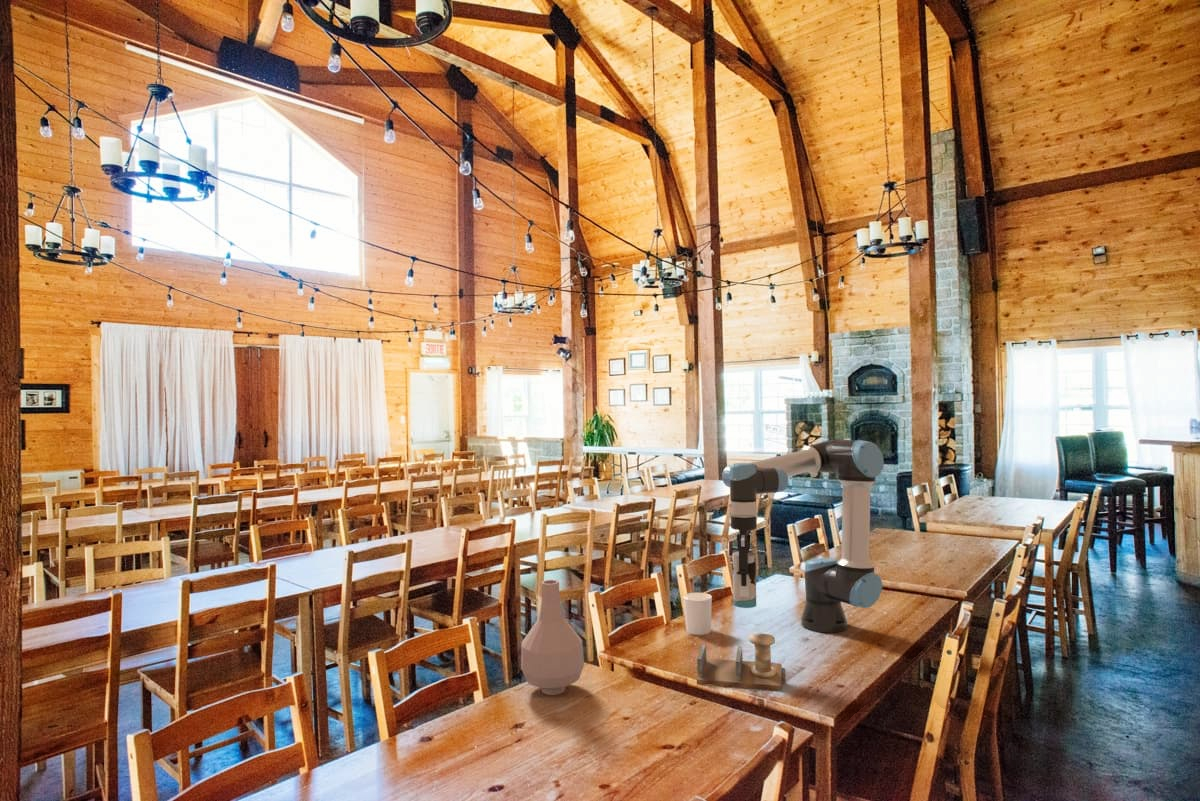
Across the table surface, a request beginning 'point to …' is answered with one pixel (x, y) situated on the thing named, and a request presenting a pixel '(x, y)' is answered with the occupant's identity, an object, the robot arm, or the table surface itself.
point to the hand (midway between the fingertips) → (744, 592)
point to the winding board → (742, 667)
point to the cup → (751, 600)
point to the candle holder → (698, 613)
